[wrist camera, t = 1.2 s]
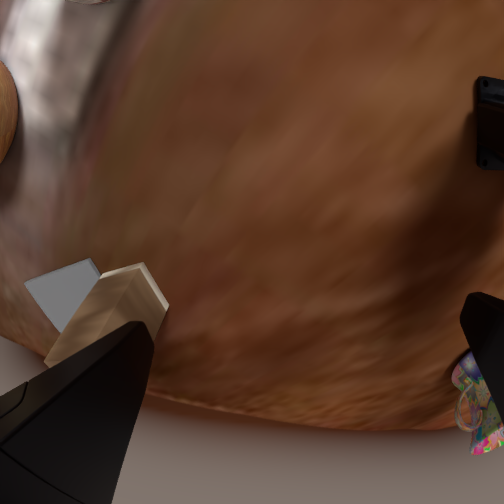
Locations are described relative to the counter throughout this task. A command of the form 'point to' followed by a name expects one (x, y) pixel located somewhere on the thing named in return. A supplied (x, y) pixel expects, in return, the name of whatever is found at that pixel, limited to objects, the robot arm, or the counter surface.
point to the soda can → (90, 1)
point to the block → (112, 310)
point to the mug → (477, 407)
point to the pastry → (7, 110)
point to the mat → (63, 290)
